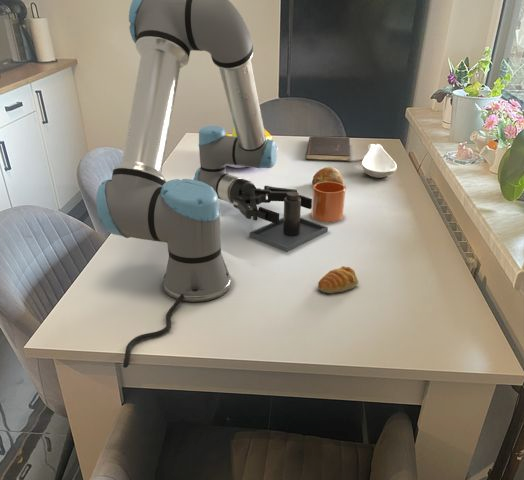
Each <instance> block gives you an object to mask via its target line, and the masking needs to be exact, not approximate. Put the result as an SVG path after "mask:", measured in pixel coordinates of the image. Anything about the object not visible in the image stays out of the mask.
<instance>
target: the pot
mask: <svg viewBox="0 0 524 480" xmlns="http://www.w3.org/2000/svg"><path fill="white" fill-rule="evenodd" d="M345 197H346V186H345V185H344V184H343V185H342V184H340V183H337V182H319V183H316V184H315V185H312V198H311V199H312V209H311V218H312V219H313V220H315V221H317V222H320V223H321V222H322V223H337V222H340V221H341V220H342V219H343V218H344V208H345V207H344V206H345V199H346V198H345Z"/></svg>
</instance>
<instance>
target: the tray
mask: <svg viewBox="0 0 524 480" xmlns="http://www.w3.org/2000/svg"><path fill="white" fill-rule="evenodd" d="M283 224H284V217H282V218H279V224H275V223H272V222H270V223H268V224H266V225H264V226H261V227H260V228H257V229H254V230H253V231H250V232H249V238H250V239H253V240H256V241H258V242H261V243H263V244H265V245H268V246H270V247H272V248H275V249H278V250H280V251H283V252H285V253H288V252H290V251H293V250H294V249H296V248H298V247H300V246H302V245H305V244H306V243H308V242H310V241H312V240H314V239H315V238H318V237H320V236H322V235H324V234H325V233H328V232H329V227H328V226H325V225H322V224H319V223H317V222H314V221H311V220H308V219H306V218H303V217H300V232H299V235H297V236H286V235H284V233H283Z"/></svg>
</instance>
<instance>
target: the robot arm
mask: <svg viewBox="0 0 524 480" xmlns="http://www.w3.org/2000/svg"><path fill="white" fill-rule="evenodd" d="M128 22H129V25H128V28H129V33H130V36H131V40H132V41H133V43H134V44H135V50H136V52H137V53H138V54H139V55H140V58H139V59H140V60H139V63H138V64H139V65H138V71H137V76H136V81H135V88H134V93H133V99H132V104H131V110H130V114H129V121H128V127H127V133H126V137H125V143H124V149H123V154H122V159H121V163H120V164H119V165H117V166H115V167H114V168H113V170H112V175H111V179H106V180H103V181H102V182H101V184H99V186H98V188H97V191H96V197H95V206H96V213H97V217H98V219H99V221H100V223H101V225H102V227H103V228H104V229H105V231H106V232H108V233H109V234H112V235H115V236H119V237H123V238H126V239H129V238H131V239H139V240H146V241H153V242H160V243H166V244H167V253H168V259H167V265H166V269H165V273H164V276H163V289H164V292H165V294H167V295H168V296H169V297H170V298H172V299H175V302H174V303H173V304H172V305H171V307H170V308H169V310H168V311H167V312H166V314H165V315H166V316H165V321H166V325H165V327H163V328H162V329H159V330H157V331H152V332H147V333H143V334H140V335H137V336H135V337H134V338H133V339H131V340H130V341H129V342H128V343H127V345H126V346H125V350H124V351H125V352H124V358H123V364H122V367H123V368H128V367H129V363H130V357H131V351H132V347H133V346H134V345H135V344H137V343H138V342H140V341H143V340H145V339H150V338H157V337H159V336H162V335H165V334H166V333H168V331H169V330H170V329H171V327H172V320H171V317H172V314H173V312H174V311H175V310H176V308H177V307H178V306H179V305H180V303H181V302H187V303H202V302H209V301H212V300H216V299H218V298H220V297H221V296H223V295H225V294H226V293H228V291H229V290H230V288H231V275H230V272H229V270H228V267H227V265H226V262H225V260H224V257H223V254H222V240H221V208H220V203H219V200H221V201H224V202H226V203H228V204H231V205H233V207H234V208H235V209H237V210H238V211H239V212H240V213H241V214H242V215H243V216H244V217H245V218H246V219H247V220H251V219H252V220H253V221H258V219H262V220H264V221H267V222H270V223H275V224H279V219H280V213H279V212H276V211H273V210H271V209H268V208H265V207H262V206H259V205H261V204H270V203H271V202H284V198H285V197H287V193H288V192H298V189H295V188H286V187H285V188H284V187H275V186H271V185H264V186H263V189H262V188H259V187H256V185H255V184H254V183H253V182H252V181H251V180H247V179H245V178H242V177H238V176H236V175H232V174H229V173H227V165H226V164H229V165H239V166H248V167H247V168H256V169H272V168H273V167H274V165H275V164H276V160H277V155H278V149H277V146H278V145H277V146H276V144H277V142H276V141H275V140H274V139H273V140H269V139H266V137H265V132H264V129H265V127H264V122H263V117H262V111H261V107H260V102H259V95H258V90H257V85H256V80H255V74H254V70H253V64H252V57H253V55H254V46H253V41H252V36H251V33H250V30H249V28H248V25H247V23H246V22H245V20H244V18H243V16H242V15H241V14H240V12H239V10H238V9H237V8H236V6H235V5H234V4H233V3H232V2H231V0H131V3H130V7H129V11H128ZM192 51H197V52H198V51H199V52H207V53H208V54H210V57H211V60H212V62H213V64H214V65H215V67H217V68H218V70H219V74H220V78H221V81H222V85H223V88H224V93H225V96H226V100H227V104H228V108H229V112H230V116H231V119H232V123H233V128H234V127H235V131H236V134H237V137H233V136H232V135H231V136H226V133H227V132H226V129H225V128H224V127H223V126H219V125H206V126H203V127H201V128H200V129H199V130H198V148H199V149H198V151H199V152H198V153H199V165H200V166H199V168H197V169H196V170H195V172H194V177H193V179H191V178H182V179H180V178H175V179H170V180H166V178H165V177H164V176H163V174H162V171H163V166H164V160H165V154H166V150H167V144H168V138H169V131H170V128H171V121H172V116H173V110H174V105H175V98H176V93H177V87H178V82H179V77H180V71H181V69H182V68H183V67H186V66H187V65H188V63H189V61H190V56H191V52H192ZM299 197H300V198H301V208H304V209H307V210H312V198H311V197H307V196H304V195H301V194H299Z"/></svg>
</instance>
